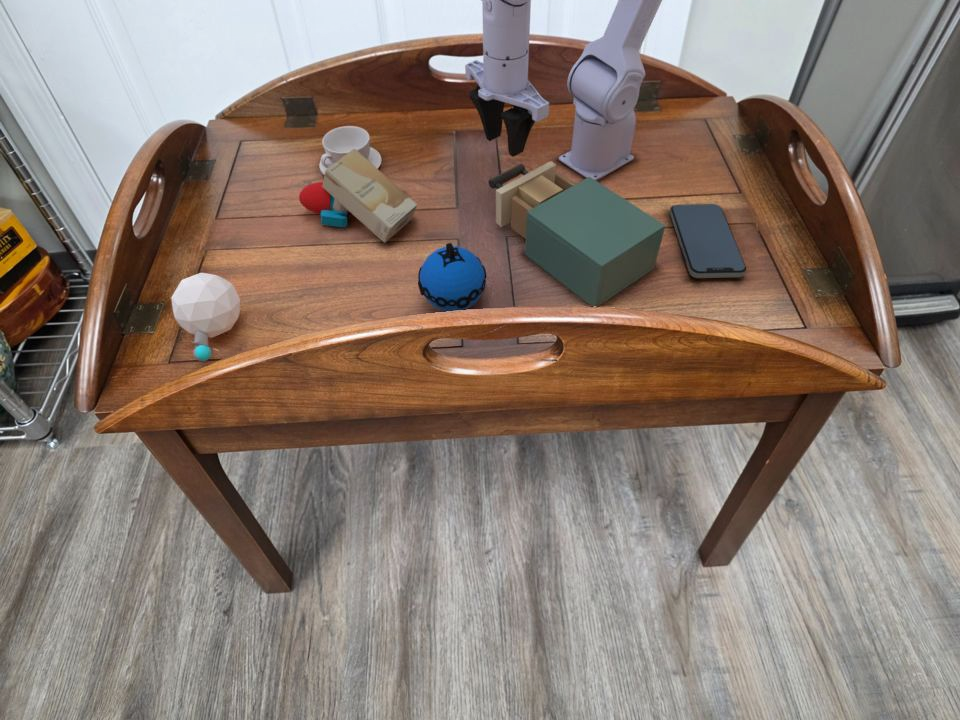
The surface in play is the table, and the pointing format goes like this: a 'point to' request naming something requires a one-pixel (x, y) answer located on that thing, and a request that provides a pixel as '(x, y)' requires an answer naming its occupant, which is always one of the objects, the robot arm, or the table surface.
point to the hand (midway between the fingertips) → (504, 145)
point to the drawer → (507, 196)
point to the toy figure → (323, 205)
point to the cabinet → (592, 240)
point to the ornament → (452, 278)
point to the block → (538, 191)
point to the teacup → (347, 146)
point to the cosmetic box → (369, 195)
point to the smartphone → (707, 241)
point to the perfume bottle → (205, 309)
